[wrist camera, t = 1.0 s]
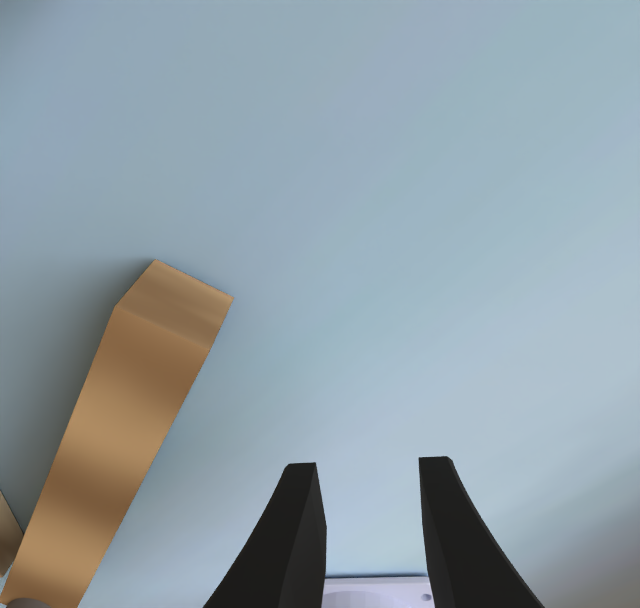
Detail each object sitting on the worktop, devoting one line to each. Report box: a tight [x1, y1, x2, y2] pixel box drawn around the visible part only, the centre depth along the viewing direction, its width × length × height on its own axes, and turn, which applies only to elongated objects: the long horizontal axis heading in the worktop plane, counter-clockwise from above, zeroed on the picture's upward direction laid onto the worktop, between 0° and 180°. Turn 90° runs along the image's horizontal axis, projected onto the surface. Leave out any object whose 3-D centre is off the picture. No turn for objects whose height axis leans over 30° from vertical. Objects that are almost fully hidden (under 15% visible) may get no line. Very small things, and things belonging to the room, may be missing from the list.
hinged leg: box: [0, 259, 234, 608], centre depth 21 cm, size 17×3×4 cm, turn 152°
